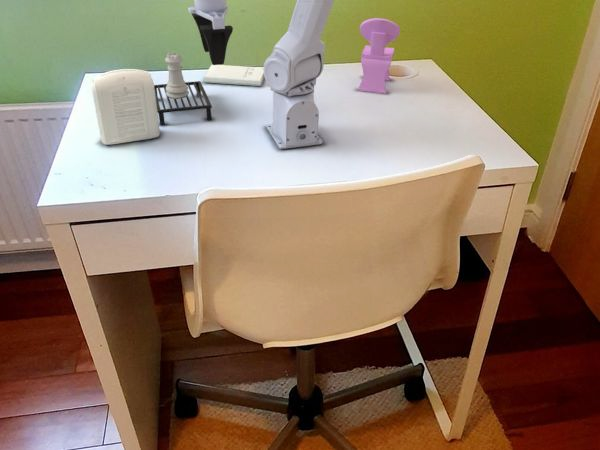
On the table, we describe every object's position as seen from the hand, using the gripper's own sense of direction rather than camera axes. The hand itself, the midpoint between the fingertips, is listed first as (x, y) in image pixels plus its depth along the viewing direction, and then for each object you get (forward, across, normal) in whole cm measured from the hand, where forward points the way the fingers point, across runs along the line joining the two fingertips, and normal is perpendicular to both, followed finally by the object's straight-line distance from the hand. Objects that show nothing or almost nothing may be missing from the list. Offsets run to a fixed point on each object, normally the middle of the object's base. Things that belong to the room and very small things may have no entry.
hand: (213, 57), depth 105 cm
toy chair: (+10, -3, +36) cm, 37 cm away
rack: (+10, 0, -7) cm, 12 cm away
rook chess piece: (+7, 0, -8) cm, 10 cm away
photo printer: (+10, +10, -18) cm, 23 cm away
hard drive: (+10, -14, +7) cm, 19 cm away
